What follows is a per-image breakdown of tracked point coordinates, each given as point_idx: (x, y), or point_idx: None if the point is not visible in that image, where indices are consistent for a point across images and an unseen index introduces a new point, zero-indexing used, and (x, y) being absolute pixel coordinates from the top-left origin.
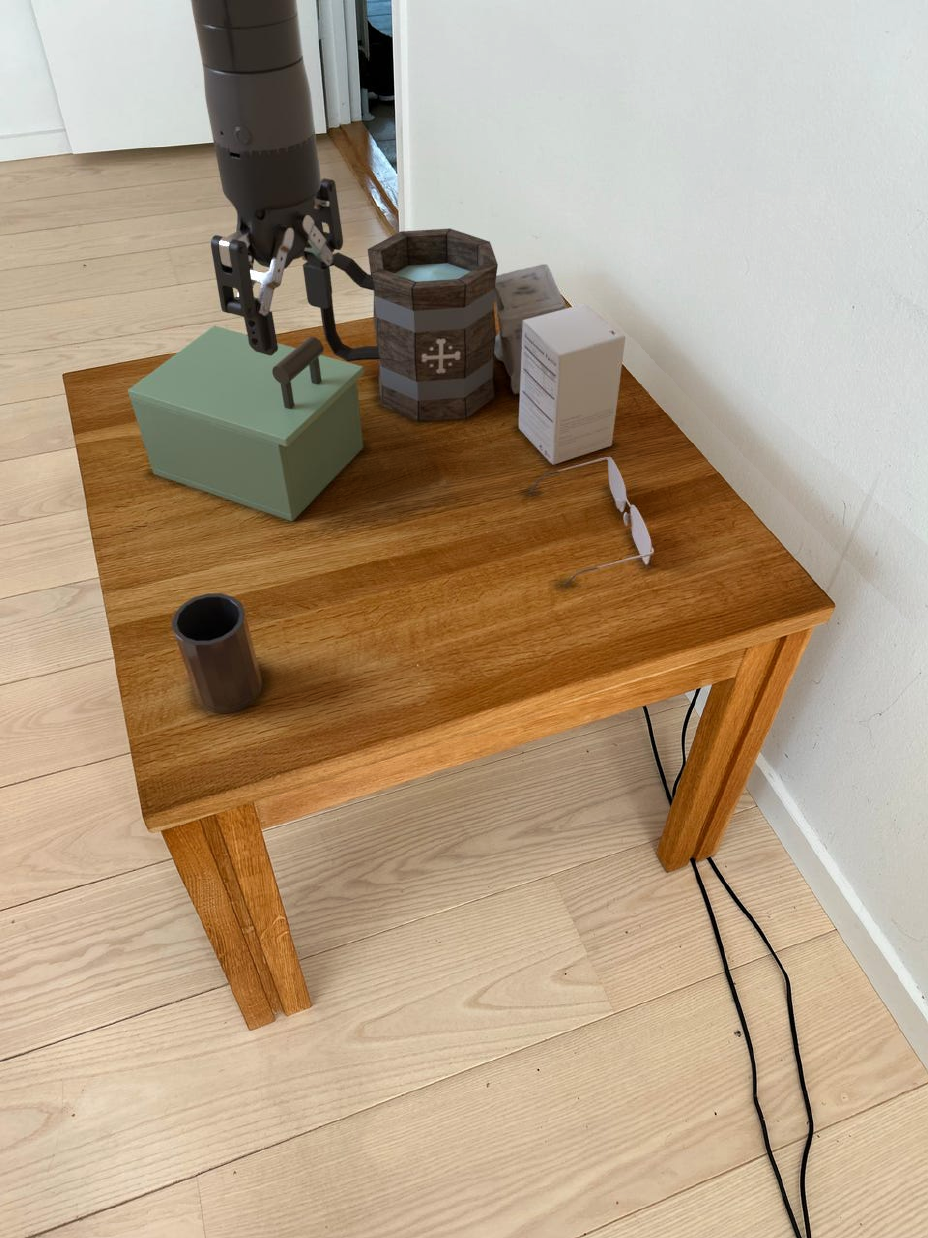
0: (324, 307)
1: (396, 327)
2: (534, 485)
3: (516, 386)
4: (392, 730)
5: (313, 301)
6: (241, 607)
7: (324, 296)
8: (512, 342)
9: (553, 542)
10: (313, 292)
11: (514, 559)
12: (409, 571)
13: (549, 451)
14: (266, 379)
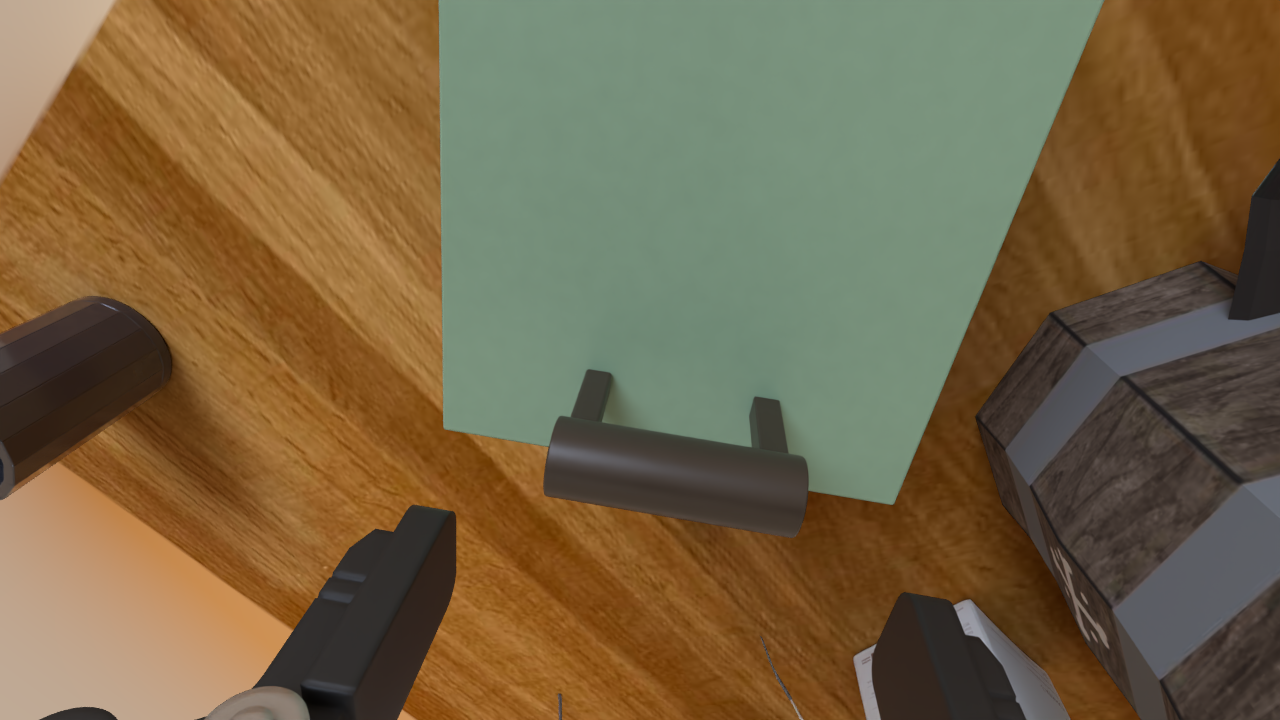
0: (877, 652)
1: (1162, 547)
2: (766, 653)
3: None
4: (213, 565)
5: (901, 626)
6: (5, 490)
7: (885, 715)
8: None
9: (647, 673)
10: (911, 678)
11: (588, 636)
12: (494, 515)
13: (866, 671)
14: (736, 237)
